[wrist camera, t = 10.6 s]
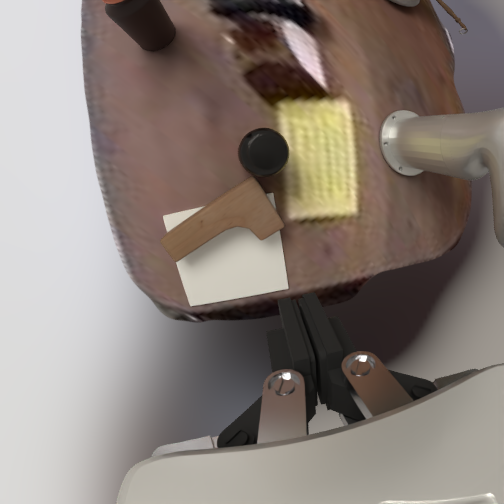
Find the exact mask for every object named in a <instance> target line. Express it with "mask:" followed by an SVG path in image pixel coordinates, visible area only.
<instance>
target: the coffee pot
mask: <svg viewBox="0 0 504 504" xmlns="http://www.w3.org/2000/svg"><path fill="white" fill-rule="evenodd" d="M390 1H392V2H395V3H397V4H399V5H402V6H416V5H418V3H419V2H420V0H390ZM436 1H437V2H438V3H439V4H440V5H441V6H442V7H443V8H444V9H445V10H446V11H447V13H448V14H450V15H451V16H452V17H453V18H454V19H455V21H456V22H457V23H459V24H460V26H461V27H462V29H464V30H467V28H466V26H465V25H464V24H463V23H462V22H461V20H460V18H457V16H456V15H455V14H454V12H453V11H452V10H451V9H450V8H449V7H448V6H447V5H446V4H445V3H444V2H443V1H442V0H436ZM462 29H460V30H459V32H460V31H461V30H462ZM467 31H468V30H467ZM467 31H466V32H465V33H467ZM465 33H460V34H465Z"/></svg>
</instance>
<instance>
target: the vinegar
mask: <svg viewBox="0 0 504 504" xmlns="http://www.w3.org/2000/svg"><path fill="white" fill-rule="evenodd" d="M103 1H104V2H105V3H106V6H105V11H106V14H107V15H108V16H109V17H110V18H111V19H112V20H113V21H114V22H115V23H116V24H118V25H119V26H120V27H121V28H122V29H123V30H124V31H125V32H126V33H127V34H128V35H129V36H130V37H131V38H132V39H133V40H135V41H136V42H137V43H138V44H139V45H140V46H141V47H142V48H143V49H145V50H150V51H154V50H159V49H161V48H164V47H165V46H166V45H168V44H169V43H170V42H171V41H172V39H173V37H174V35H175V28H174V25H173V23H172V21H171V20H170V18H169V16H168V14H167V12H166V11H165V9H164V7H163V5H162V4H161V2H160V0H103Z"/></svg>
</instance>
